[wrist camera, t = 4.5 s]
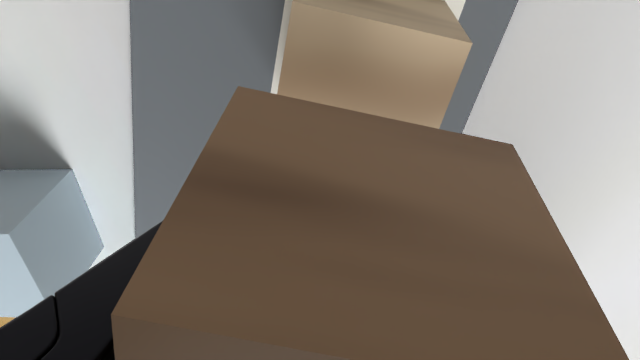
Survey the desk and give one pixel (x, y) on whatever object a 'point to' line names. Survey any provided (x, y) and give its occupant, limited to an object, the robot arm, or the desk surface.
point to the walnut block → (356, 249)
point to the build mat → (239, 78)
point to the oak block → (375, 57)
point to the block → (42, 236)
